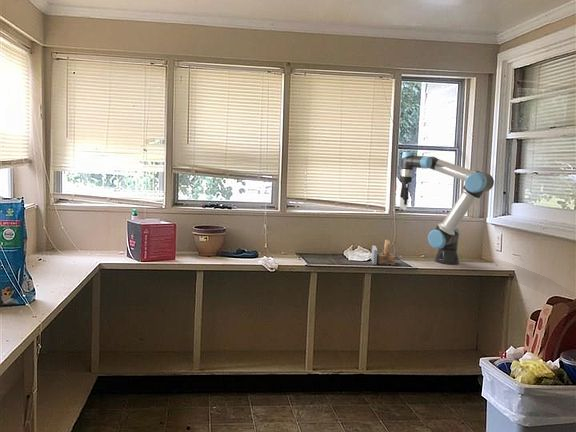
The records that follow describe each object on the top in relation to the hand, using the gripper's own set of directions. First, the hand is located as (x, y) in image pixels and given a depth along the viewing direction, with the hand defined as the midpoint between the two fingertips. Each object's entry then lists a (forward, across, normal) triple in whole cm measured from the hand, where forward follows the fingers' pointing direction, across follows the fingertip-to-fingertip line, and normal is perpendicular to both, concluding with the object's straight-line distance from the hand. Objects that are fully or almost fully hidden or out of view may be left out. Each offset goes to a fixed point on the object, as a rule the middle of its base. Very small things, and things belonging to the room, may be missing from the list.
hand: (403, 208), depth 393 cm
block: (+32, +26, -11) cm, 43 cm away
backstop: (+32, +26, -18) cm, 45 cm away
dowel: (+30, +26, -11) cm, 42 cm away
